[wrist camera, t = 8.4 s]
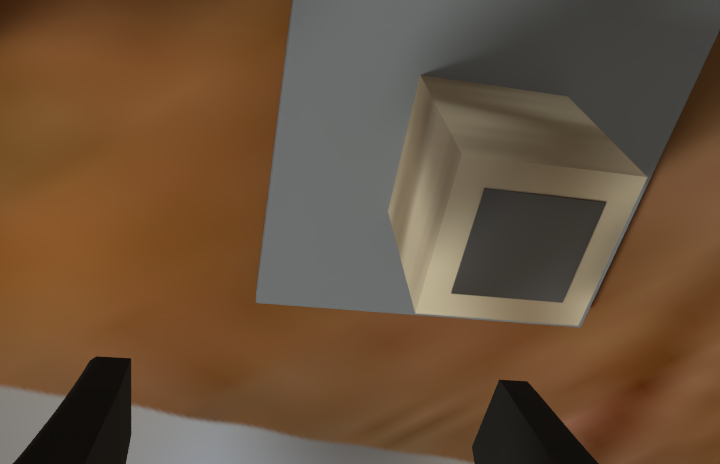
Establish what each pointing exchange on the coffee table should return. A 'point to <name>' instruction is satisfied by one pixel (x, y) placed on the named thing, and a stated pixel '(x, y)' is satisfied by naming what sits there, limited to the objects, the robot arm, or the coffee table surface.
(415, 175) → the birch block
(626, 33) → the mat
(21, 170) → the coffee table surface
